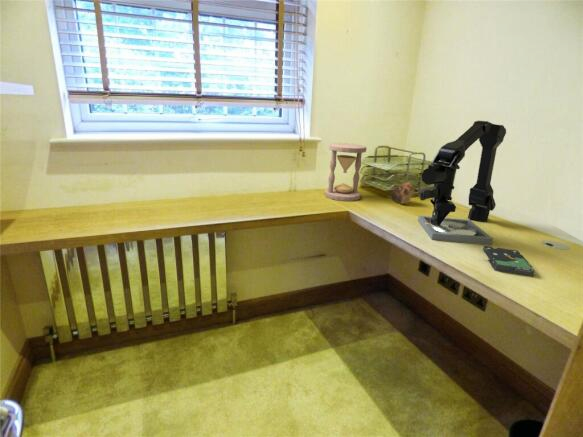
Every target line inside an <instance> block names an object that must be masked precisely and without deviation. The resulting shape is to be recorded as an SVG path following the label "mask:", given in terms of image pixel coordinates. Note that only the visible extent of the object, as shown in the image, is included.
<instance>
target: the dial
mask: <svg viewBox="0 0 583 437" xmlns="http://www.w3.org/2000/svg"><path fill="white" fill-rule="evenodd" d="M431 217H432V218H431V222H430V223H429V224H430V226H431V227H432V228H433V229H434V230H435V232H438V233H449V234H461V235H472V236H476V232H477V231H476V230H475V229H474V228H473V227H471V226H469V225H466V224H463V223H460V222H455V221H449V220H443V221H442V223H441V224H440V225H438V224H437V211H436V210H434V209H433V210H432V214H431Z"/></svg>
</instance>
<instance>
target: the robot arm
mask: <svg viewBox="0 0 583 437" xmlns="http://www.w3.org/2000/svg"><path fill="white" fill-rule="evenodd" d="M506 135H507V129H506V127H505V126H504V125H503V124H495V123H492V122H491V121H488V120H476V121H474V122H473V124H472V125H471V126H470V127H469V128H468V129H467V130H466V131H465V132H464V133H462V134H461V135H460V136H458V138H457V139H455V140H453V141H450V142H447V143H445V144H444V145H442V146H441V147H440V148H439V149H438V151H437V152H436V155H435V156H434V157H433V160H432V161H431V162H430V164H428V166H427V168H425V169H424V170H423V171H422V172H421V181H422V182H423V183H424V184H425V185H429V186H428V187H423V188H419V189H418V190H417V192H418V197H419V200H420V201H425V200H427V199H428V200H429V201H430V203H431V204H432V205H433V210H436V211H437V224H438V225H440V224H441V223H442V221H443V220H444V219H445V218H447V217H448V216H449V214H450V213H455V212H456V210H457V206H456V205H455V203H454V202H453V201H452V200H453V197H452V194H453V190H455V186H454V183H455V178H456V174H457V170H460V168H461V167H460V165H459V163H460V162H461V161H462V160H463V159H464V158H465V156H466V151H467V150H468V149H469V148H470V147H471V146H472V145H473V144H475V142H476V141H479V144H480V146H481V154H480V159H479V160H480V161H479V165H478V172H477V177H476V178H477V179H476V183H475V184H474V185H473V186H472V187H471V188H470V189H469V194H468V206H471V208H469V212H468V215H467V220H471V221H472V222H476V223H477V222H478V223H486V222H488V219H489V216H490V212H491V211H494V210H495V208H496V206H497V204H496V201H495V198H494V188H493V187H492V185H491V181H492V176H493V171H494V166H495V159H496V155H497V149H498V147H499V146H500V145H501V144H502V143H504V142H503V141H504V138H505V136H506ZM431 185H433V186H431Z"/></svg>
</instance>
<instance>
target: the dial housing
mask: <svg viewBox="0 0 583 437" xmlns="http://www.w3.org/2000/svg"><path fill="white" fill-rule="evenodd" d="M431 218H432V216H427V215H426V216H425V215H418V217H417V222H418V223H419V225H420V226H421V228H422V229H423V230H424V232H425V233H426V234H427V235H428V237H429V238H430V239H431V241H442V242H443V241H444V242H451V243H452V242H453V243H462V244H463V243H464V244H473V245H474V244H475V245H476V244H477V245H483V246H492V244H493V237H492V236H490V235H489V234H488V233H486V231H484V230H483V229H482V228H481V227H479V226H478V225H477V224H476V223H474V221H472V220H470V219H463V218H462V219H461V218H451V217H450V218H449V217H446V218H445V219H444V220H449V221H455V222H460V223H463V224H466V225H469V226H471V227H473V228H474V229H475V230H476V231H477V232H476V236H472V235H461V234H449V233H438V232H435V230H434V229H433V228H432V227H431V226H430V222H431Z"/></svg>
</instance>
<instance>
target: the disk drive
mask: <svg viewBox="0 0 583 437" xmlns="http://www.w3.org/2000/svg"><path fill="white" fill-rule="evenodd" d="M482 251H483V252H484V254H485V255H486V256H487V258H488V260H487V261H488V262H489V264H490V265H491V268H492V269H493V270H494V271H495V272H501V273H506V274H513V275H519V276H524V277H525V276H526V277H532V278H533V277H534V275H535V271H534V267H533V266H532V265H531V263H530V262H529V261H528V260H527V259H526V258H525V257H524V255H522V253H521V252H520V251H518V250H516V249H509V248H503V247H497V248H494V247H493V246H491V245H483V249H482Z"/></svg>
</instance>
